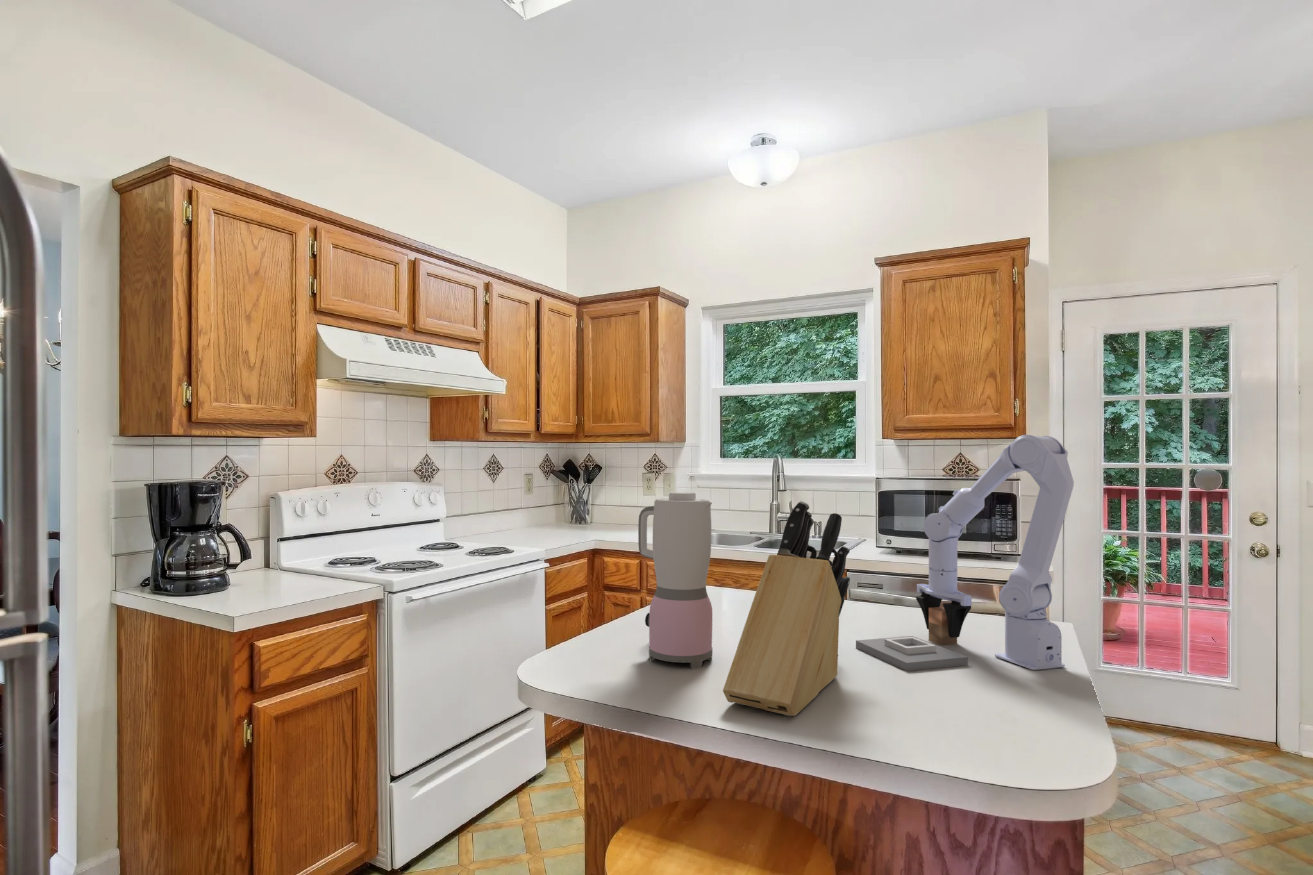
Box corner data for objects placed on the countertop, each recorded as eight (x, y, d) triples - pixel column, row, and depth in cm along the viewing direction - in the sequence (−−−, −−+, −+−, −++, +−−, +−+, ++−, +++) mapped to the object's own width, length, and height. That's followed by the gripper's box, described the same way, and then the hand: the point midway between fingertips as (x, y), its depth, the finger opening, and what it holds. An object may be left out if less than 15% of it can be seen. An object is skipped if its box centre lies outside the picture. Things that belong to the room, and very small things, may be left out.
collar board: (967, 664, 131) (968, 650, 131) (906, 670, 127) (906, 656, 127) (912, 642, 147) (912, 630, 147) (855, 647, 142) (855, 634, 142)
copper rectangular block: (957, 643, 147) (957, 610, 147) (941, 645, 145) (941, 611, 146) (943, 639, 150) (943, 606, 151) (928, 640, 149) (928, 607, 149)
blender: (722, 656, 135) (724, 492, 136) (697, 673, 124) (699, 495, 125) (651, 645, 142) (653, 489, 143) (621, 660, 131) (624, 492, 132)
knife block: (854, 664, 131) (855, 501, 131) (791, 725, 100) (792, 512, 101) (796, 655, 136) (798, 498, 137) (720, 710, 106) (722, 509, 107)
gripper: (905, 564, 154) (905, 626, 154) (951, 575, 140) (951, 643, 140) (931, 563, 156) (931, 624, 156) (979, 574, 142) (979, 640, 142)
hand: (942, 632), depth 148 cm, fingers open, 6 cm apart
